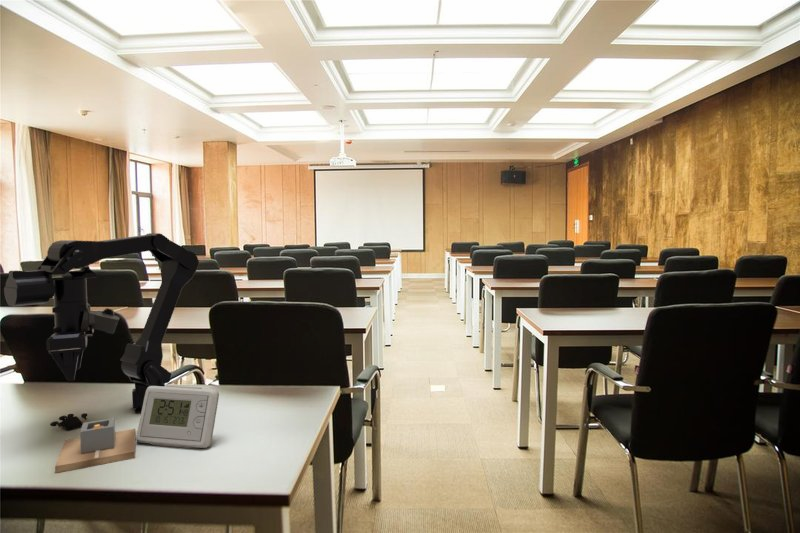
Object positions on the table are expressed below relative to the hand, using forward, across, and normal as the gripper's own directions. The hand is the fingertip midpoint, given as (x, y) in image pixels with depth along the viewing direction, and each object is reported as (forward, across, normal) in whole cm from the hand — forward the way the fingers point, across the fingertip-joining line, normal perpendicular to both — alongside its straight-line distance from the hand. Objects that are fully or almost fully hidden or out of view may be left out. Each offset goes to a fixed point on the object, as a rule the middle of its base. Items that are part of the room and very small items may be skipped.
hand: (73, 374), depth 99 cm
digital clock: (+12, -16, -19) cm, 28 cm away
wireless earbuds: (+12, +3, +1) cm, 13 cm away
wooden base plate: (+12, -14, -5) cm, 19 cm away
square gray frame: (+11, -14, -5) cm, 18 cm away
